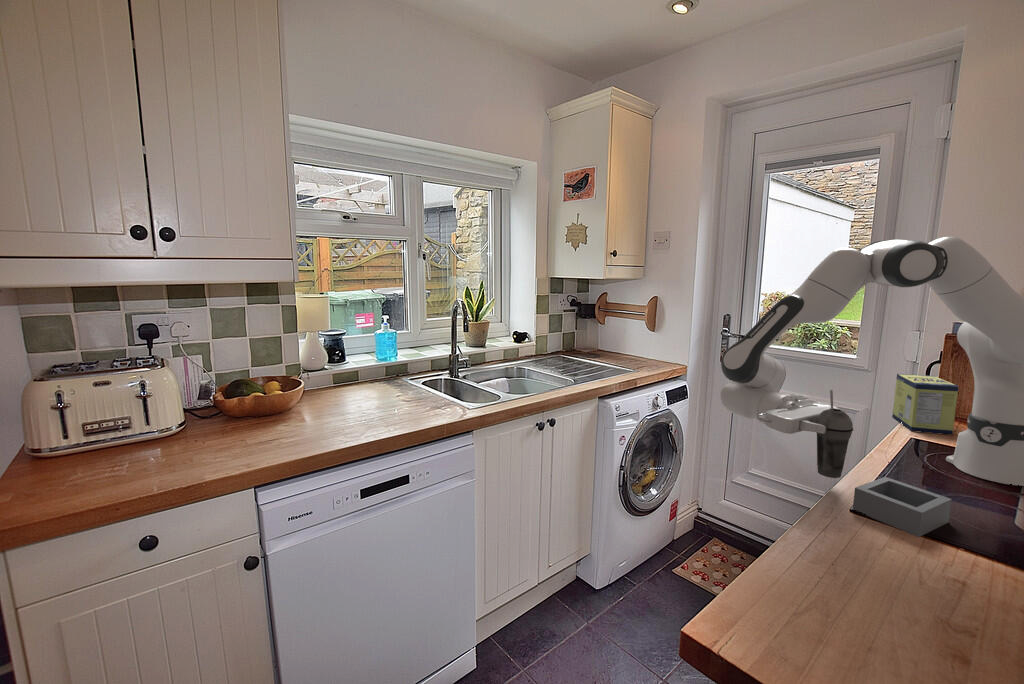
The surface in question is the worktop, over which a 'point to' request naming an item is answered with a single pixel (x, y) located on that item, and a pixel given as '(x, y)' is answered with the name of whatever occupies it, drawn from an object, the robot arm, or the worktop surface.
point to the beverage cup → (833, 441)
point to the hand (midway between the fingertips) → (837, 427)
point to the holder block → (902, 505)
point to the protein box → (925, 403)
